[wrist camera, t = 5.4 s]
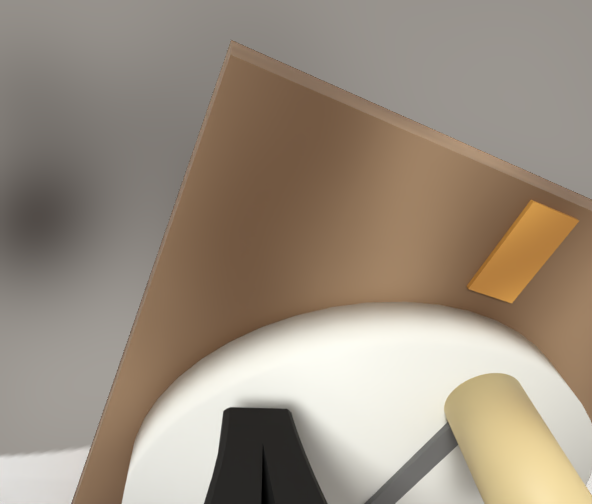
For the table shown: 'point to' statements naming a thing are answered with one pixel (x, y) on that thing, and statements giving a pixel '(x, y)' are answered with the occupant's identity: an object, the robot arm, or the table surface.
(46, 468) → the table surface
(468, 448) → the dial
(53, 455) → the table surface
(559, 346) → the brown flat wooden board
